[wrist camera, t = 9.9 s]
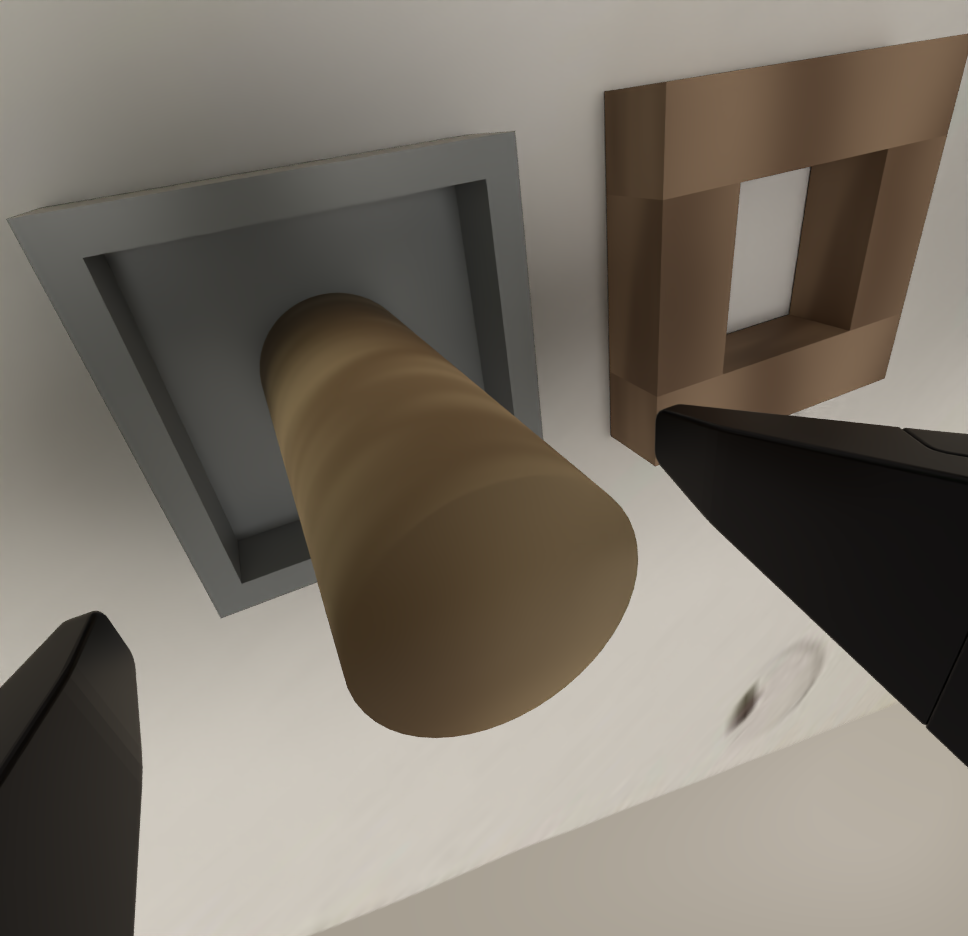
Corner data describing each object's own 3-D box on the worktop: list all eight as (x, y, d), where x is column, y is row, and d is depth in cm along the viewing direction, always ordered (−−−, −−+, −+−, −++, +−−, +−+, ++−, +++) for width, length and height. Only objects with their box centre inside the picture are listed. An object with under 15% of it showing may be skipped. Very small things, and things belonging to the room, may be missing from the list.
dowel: (395, 276, 15) (639, 428, 7) (425, 415, 17) (636, 658, 9) (235, 314, 13) (293, 555, 5) (288, 458, 16) (386, 783, 8)
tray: (470, 134, 14) (515, 131, 12) (512, 459, 19) (548, 495, 17) (40, 207, 12) (6, 219, 10) (218, 562, 17) (220, 618, 15)
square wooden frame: (887, 46, 18) (973, 32, 16) (826, 358, 24) (884, 378, 22) (604, 91, 15) (666, 82, 13) (610, 435, 21) (655, 466, 19)
